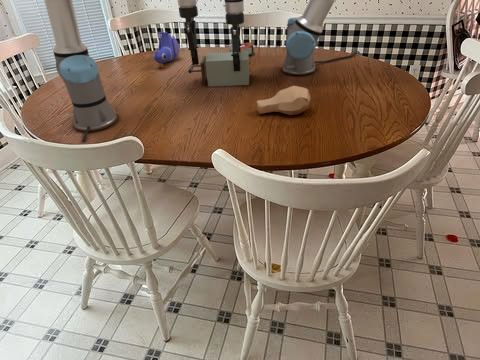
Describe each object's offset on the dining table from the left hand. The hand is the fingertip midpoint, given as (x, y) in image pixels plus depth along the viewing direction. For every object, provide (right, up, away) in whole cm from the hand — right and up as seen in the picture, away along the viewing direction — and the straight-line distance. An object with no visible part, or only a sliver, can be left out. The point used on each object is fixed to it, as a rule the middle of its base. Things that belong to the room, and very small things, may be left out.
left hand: (195, 64), depth 157 cm
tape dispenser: (+20, +13, +30) cm, 38 cm away
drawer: (+9, -6, +4) cm, 11 cm away
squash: (+36, -26, -25) cm, 51 cm away
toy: (-19, +10, +29) cm, 36 cm away
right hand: (+19, -1, 0) cm, 19 cm away
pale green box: (+15, -6, +4) cm, 17 cm away
